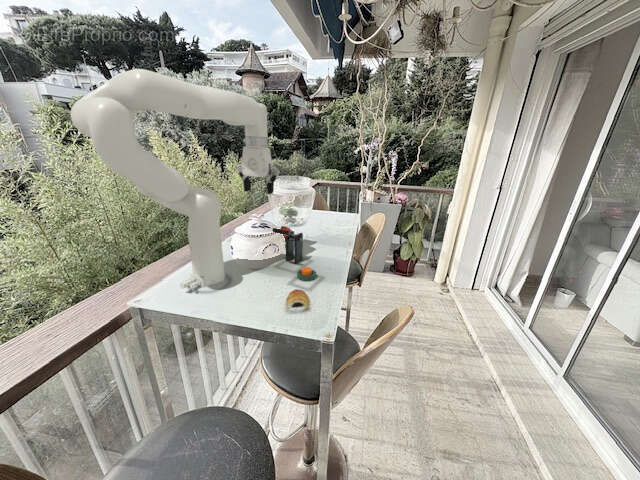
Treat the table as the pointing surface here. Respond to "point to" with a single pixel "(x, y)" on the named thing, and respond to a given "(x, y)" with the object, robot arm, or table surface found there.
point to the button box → (306, 278)
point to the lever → (284, 233)
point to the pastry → (297, 299)
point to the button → (306, 271)
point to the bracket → (294, 248)
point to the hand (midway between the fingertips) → (258, 192)
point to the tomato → (285, 229)
